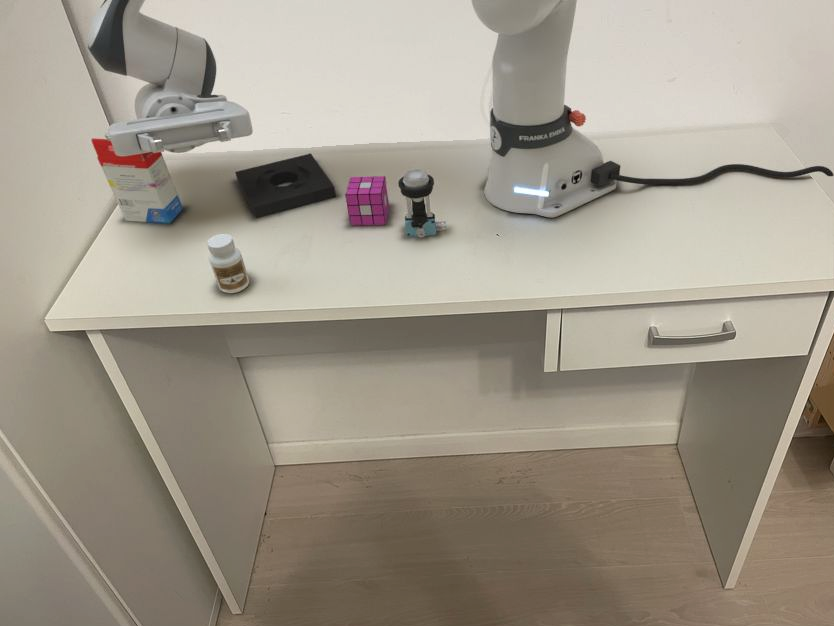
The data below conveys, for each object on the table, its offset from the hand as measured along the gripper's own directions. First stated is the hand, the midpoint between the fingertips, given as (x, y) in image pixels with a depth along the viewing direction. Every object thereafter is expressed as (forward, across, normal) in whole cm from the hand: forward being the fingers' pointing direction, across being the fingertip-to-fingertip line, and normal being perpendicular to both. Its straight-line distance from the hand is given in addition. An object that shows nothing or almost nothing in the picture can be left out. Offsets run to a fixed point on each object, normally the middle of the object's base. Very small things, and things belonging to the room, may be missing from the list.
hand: (192, 141), depth 98 cm
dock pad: (-12, +15, +13) cm, 23 cm away
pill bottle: (+10, 0, +19) cm, 21 cm away
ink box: (-17, -6, +15) cm, 23 cm away
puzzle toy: (+5, +24, +15) cm, 29 cm away
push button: (+14, +29, +16) cm, 36 cm away
